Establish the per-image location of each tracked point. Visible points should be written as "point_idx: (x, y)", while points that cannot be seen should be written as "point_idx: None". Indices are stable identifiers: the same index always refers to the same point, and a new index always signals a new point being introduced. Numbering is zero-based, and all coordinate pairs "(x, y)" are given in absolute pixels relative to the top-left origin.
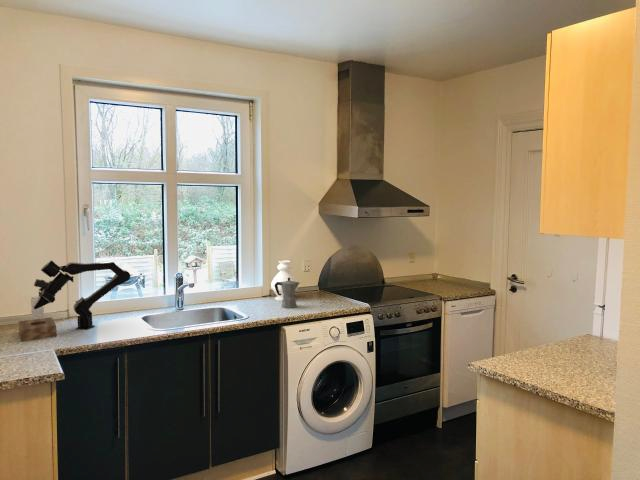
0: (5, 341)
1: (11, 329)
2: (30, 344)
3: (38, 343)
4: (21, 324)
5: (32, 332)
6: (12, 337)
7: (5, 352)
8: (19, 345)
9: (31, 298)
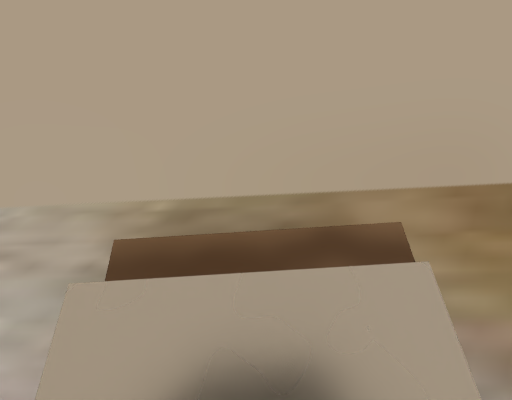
0: (199, 198)
1: (446, 210)
2: (47, 308)
3: (29, 353)
4: (282, 243)
5: None
6: (261, 221)
7: (7, 207)
8: (75, 256)
9: (174, 294)
